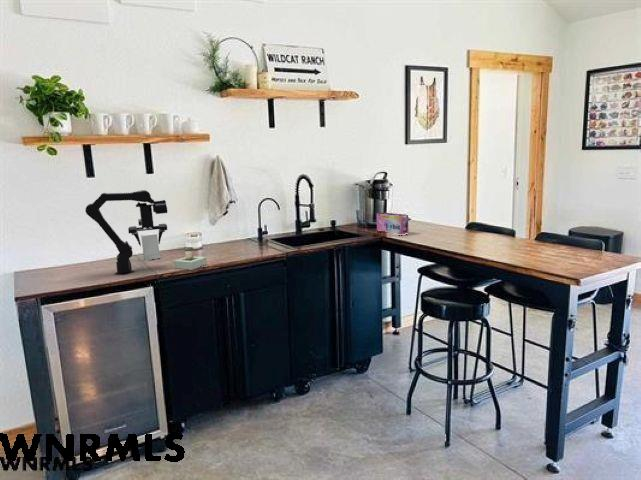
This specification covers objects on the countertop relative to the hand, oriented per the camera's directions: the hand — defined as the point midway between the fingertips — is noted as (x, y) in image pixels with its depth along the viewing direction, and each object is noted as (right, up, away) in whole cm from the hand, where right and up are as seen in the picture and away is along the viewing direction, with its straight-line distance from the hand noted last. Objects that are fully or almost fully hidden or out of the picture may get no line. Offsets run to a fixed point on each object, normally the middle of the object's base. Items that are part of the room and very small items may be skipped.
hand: (149, 244), depth 252 cm
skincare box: (-9, -9, +28) cm, 31 cm away
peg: (+20, -11, +6) cm, 23 cm away
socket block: (+20, -11, +6) cm, 23 cm away
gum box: (+137, +6, +80) cm, 159 cm away
